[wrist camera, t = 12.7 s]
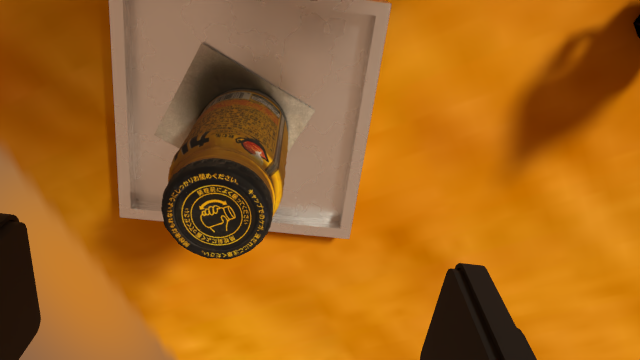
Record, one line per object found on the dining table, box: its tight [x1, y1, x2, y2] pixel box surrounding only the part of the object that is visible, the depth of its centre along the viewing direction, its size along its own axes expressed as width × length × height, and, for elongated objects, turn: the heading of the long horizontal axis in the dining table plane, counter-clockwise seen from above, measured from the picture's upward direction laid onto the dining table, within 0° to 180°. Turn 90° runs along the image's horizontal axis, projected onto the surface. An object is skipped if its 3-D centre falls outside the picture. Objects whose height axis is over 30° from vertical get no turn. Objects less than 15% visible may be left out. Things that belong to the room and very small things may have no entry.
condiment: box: [154, 43, 315, 259], centre depth 28 cm, size 7×8×12 cm
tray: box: [109, 0, 391, 239], centre depth 33 cm, size 17×17×2 cm
